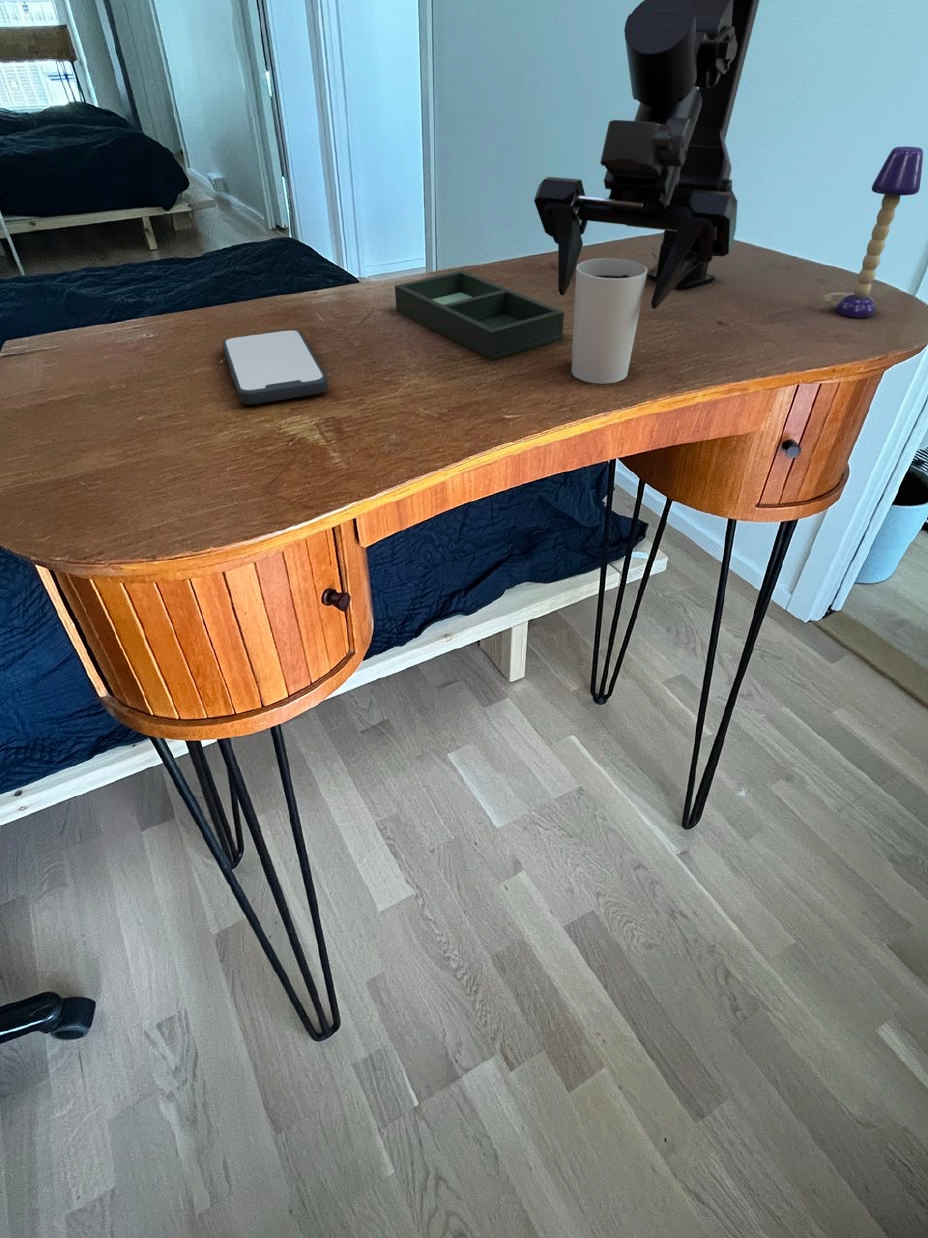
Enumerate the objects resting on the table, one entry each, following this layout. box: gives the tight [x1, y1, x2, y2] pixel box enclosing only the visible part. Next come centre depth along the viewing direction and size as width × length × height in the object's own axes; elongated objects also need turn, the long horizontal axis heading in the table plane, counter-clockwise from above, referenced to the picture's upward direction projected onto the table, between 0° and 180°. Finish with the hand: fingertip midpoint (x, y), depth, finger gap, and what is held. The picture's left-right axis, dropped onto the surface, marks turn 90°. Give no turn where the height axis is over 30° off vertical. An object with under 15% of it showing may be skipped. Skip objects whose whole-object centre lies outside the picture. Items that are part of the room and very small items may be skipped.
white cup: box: [571, 257, 648, 385], centre depth 70 cm, size 7×7×10 cm
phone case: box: [222, 329, 329, 406], centre depth 74 cm, size 9×2×16 cm
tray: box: [394, 269, 565, 361], centre depth 83 cm, size 10×19×3 cm, turn 36°
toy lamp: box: [835, 146, 924, 319], centre depth 80 cm, size 5×5×17 cm
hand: (606, 299), depth 68 cm, fingers open, 9 cm apart
